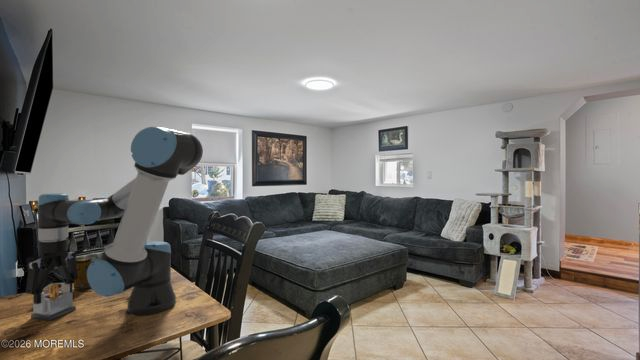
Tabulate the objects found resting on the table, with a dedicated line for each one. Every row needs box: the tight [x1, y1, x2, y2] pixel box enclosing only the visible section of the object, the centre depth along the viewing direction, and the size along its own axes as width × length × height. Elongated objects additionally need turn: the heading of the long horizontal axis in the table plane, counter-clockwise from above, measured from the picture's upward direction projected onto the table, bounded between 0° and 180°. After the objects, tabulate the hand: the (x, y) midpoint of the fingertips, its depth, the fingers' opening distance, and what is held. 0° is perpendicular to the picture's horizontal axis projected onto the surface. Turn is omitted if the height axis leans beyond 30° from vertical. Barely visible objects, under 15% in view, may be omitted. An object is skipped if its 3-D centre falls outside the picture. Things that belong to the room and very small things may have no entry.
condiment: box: [72, 257, 94, 293], centre depth 121 cm, size 7×8×12 cm
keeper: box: [30, 283, 77, 322], centre depth 100 cm, size 8×8×10 cm
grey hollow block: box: [32, 291, 74, 316], centre depth 100 cm, size 7×7×5 cm
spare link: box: [42, 282, 73, 294], centre depth 111 cm, size 7×7×5 cm
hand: (53, 307), depth 100 cm, fingers open, 7 cm apart
